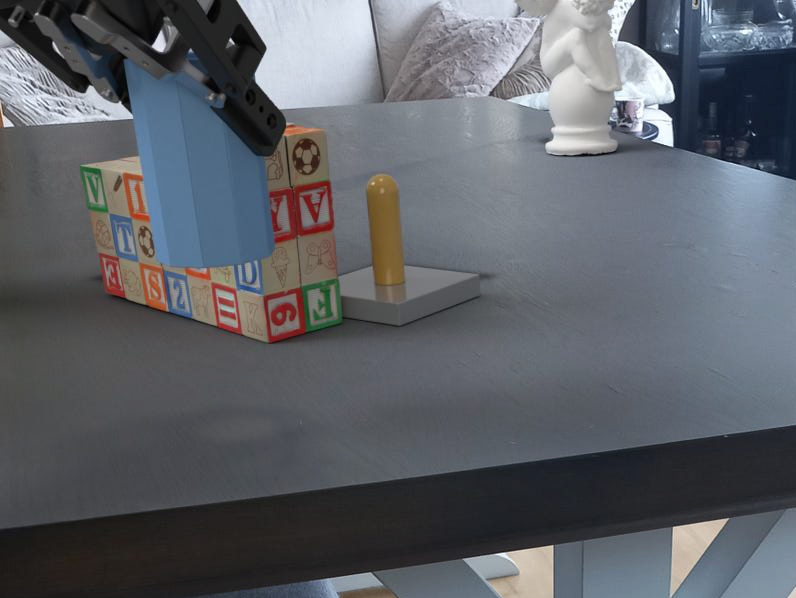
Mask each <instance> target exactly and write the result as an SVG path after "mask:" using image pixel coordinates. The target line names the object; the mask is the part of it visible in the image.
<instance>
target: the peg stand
mask: <svg viewBox="0 0 796 598" xmlns="http://www.w3.org/2000/svg"><path fill="white" fill-rule="evenodd" d="M365 194H366V207H367V220H368V230H369V240H370V255H371V264H372V265H371V266H367V267H363V268H361V269H358V270H354V271H352V272H349V273H345V274H342V275H340V276H337V277H338V278H339V282H340V294H341V309H342V318H347V319H353V320H360V321H366V322H372V323H378V324H385V325H392V326H397V327H401V326H404V325H407V324H409V323H411V322H414V321H417V320H419V319H422V318H425V317H427V316H430V315H433V314H435V313H438V312H440V311H443V310H446V309H448V308H451V307H454V306H457V305H459V304H461V303H464V302H467V301H469V300H472V299H475V298H478V297H480V296H481V278H480V274H478V273H470V272H462V271H461V272H460V271H454V270H445V269H437V268H430V267H422V266H412V265H405V256H404V242H403V228H402V227H403V226H402V215H401V203H400V201H401V200H400V189H399V185H398V183H397V181H396V180H395V179H394V178H393V176H391V175H390V174H386V173H378V174H376V175H373V176H371V178H370V179H369V180H368V181H367V184H366V187H365Z"/></svg>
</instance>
